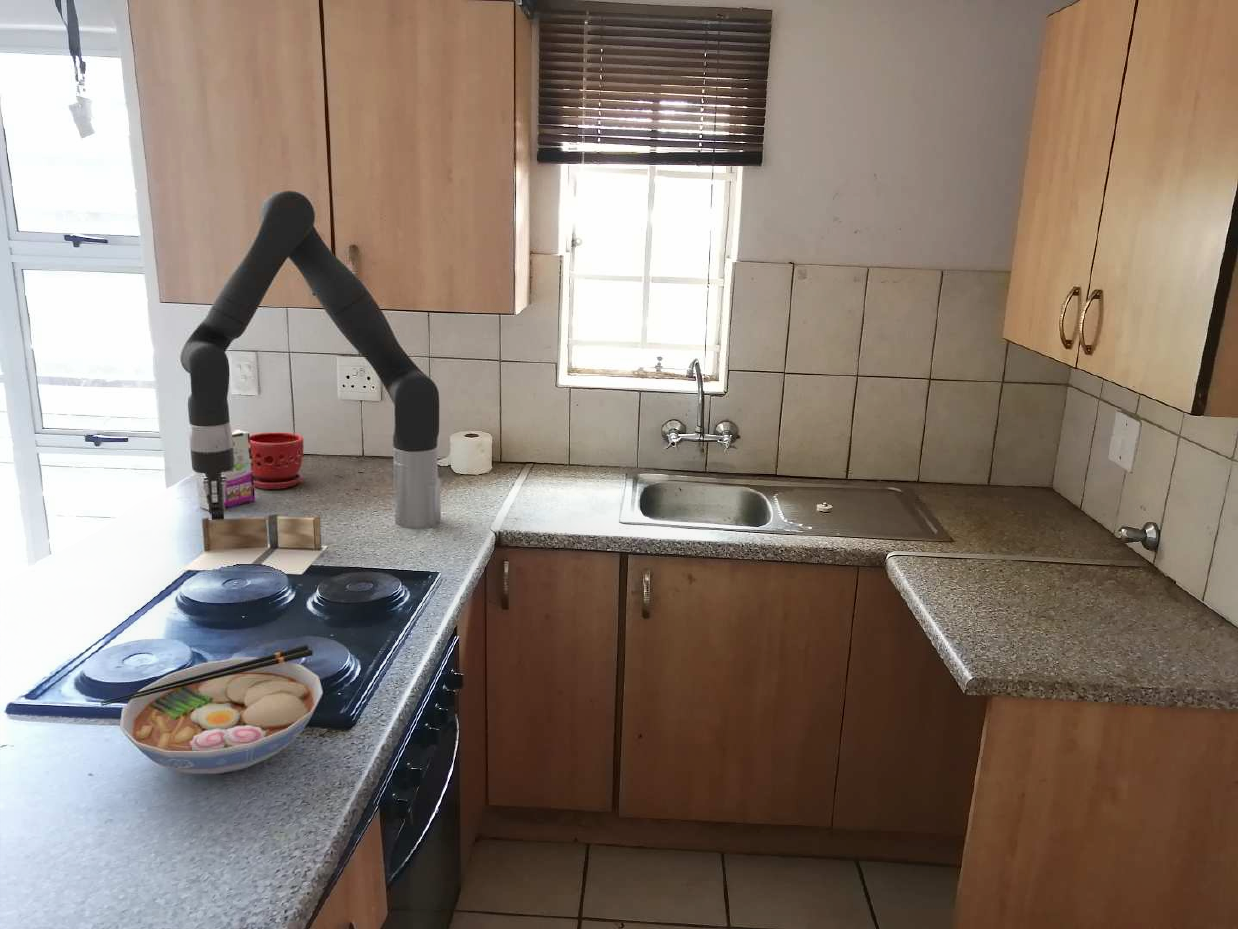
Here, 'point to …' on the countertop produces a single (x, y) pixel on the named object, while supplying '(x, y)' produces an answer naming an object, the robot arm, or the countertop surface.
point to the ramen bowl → (222, 712)
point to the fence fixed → (295, 532)
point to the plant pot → (276, 459)
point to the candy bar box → (234, 474)
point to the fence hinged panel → (234, 533)
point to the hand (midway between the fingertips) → (219, 530)
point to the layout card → (259, 558)
